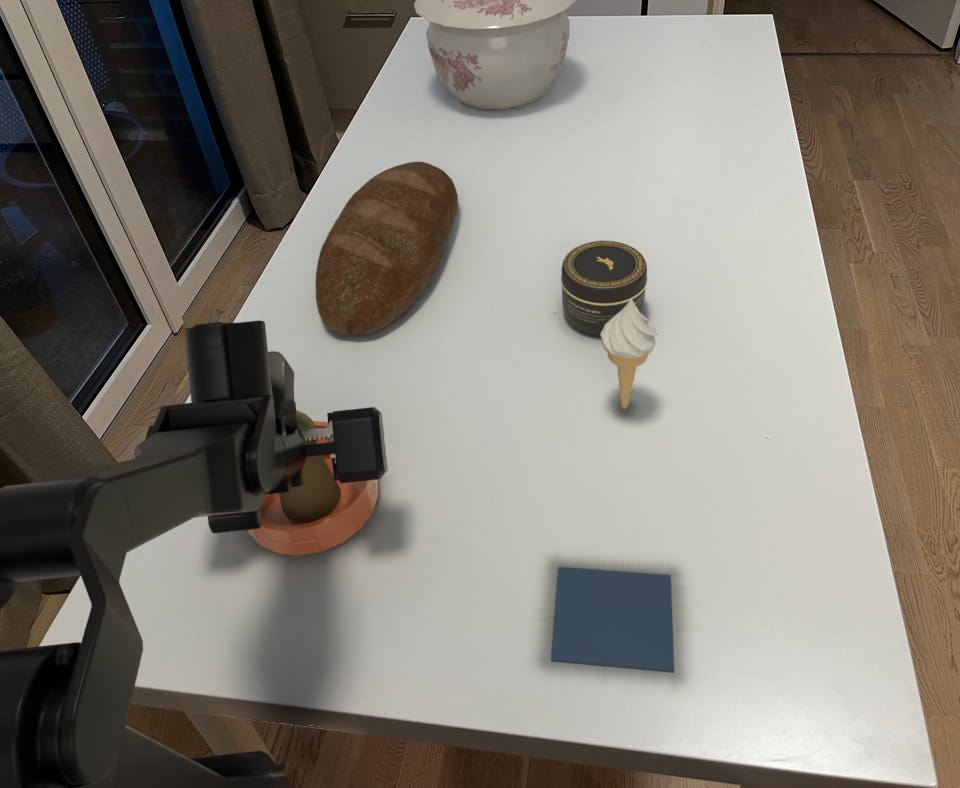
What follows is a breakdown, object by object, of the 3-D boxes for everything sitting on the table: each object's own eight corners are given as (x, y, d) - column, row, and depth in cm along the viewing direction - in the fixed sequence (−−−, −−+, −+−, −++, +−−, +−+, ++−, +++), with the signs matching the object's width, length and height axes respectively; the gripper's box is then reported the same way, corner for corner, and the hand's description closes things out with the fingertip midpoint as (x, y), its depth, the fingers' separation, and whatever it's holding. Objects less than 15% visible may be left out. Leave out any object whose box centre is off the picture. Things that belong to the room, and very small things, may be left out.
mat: (551, 661, 66) (551, 659, 66) (558, 568, 72) (558, 566, 72) (673, 672, 65) (674, 670, 64) (670, 576, 71) (670, 575, 71)
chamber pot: (551, 136, 131) (549, 3, 116) (401, 120, 139) (382, -5, 125) (595, 66, 149) (598, -56, 134) (460, 56, 157) (449, -60, 143)
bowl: (327, 578, 74) (316, 551, 70) (216, 528, 79) (202, 500, 76) (404, 474, 82) (397, 445, 79) (299, 435, 87) (289, 406, 84)
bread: (476, 189, 121) (471, 137, 115) (412, 347, 96) (402, 292, 90) (378, 185, 124) (369, 134, 118) (292, 337, 99) (275, 283, 93)
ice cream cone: (653, 425, 84) (665, 315, 73) (600, 428, 84) (604, 318, 74) (646, 388, 88) (656, 279, 77) (595, 391, 88) (598, 282, 78)
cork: (336, 521, 78) (310, 447, 70) (275, 523, 78) (243, 449, 70) (344, 473, 82) (321, 398, 74) (287, 475, 82) (258, 401, 75)
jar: (587, 280, 103) (588, 230, 97) (658, 304, 98) (663, 253, 93) (546, 323, 97) (544, 272, 92) (619, 351, 93) (622, 299, 87)
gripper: (360, 343, 61) (385, 354, 77) (119, 368, 61) (193, 374, 77) (375, 487, 61) (397, 469, 77) (134, 512, 61) (205, 489, 77)
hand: (297, 447), depth 77 cm, fingers open, 8 cm apart
